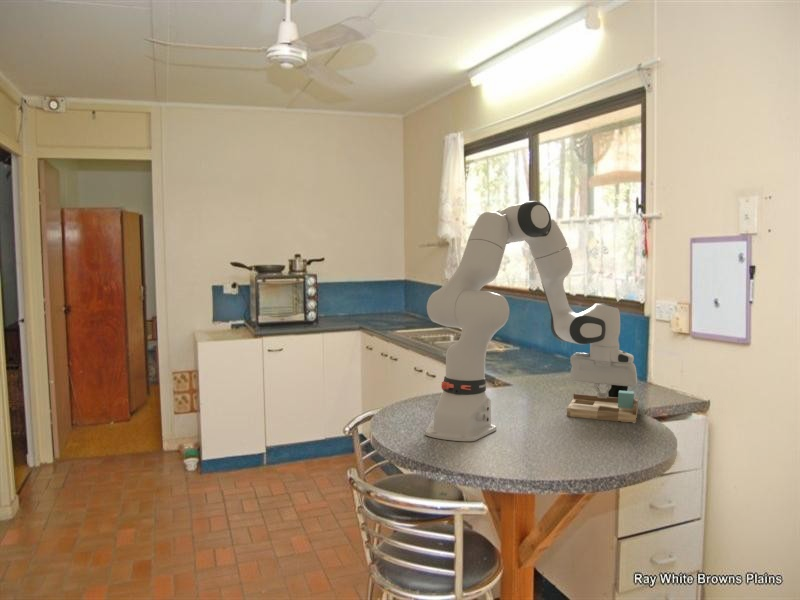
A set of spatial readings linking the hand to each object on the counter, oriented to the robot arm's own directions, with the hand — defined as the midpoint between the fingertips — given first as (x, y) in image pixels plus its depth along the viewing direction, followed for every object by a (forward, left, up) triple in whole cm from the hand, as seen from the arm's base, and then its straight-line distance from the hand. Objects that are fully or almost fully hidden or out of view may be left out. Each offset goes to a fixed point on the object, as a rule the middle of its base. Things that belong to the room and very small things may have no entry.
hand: (602, 397), depth 199 cm
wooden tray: (-2, -1, -5) cm, 5 cm away
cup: (+19, -4, -5) cm, 20 cm away
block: (+1, -7, -2) cm, 7 cm away
